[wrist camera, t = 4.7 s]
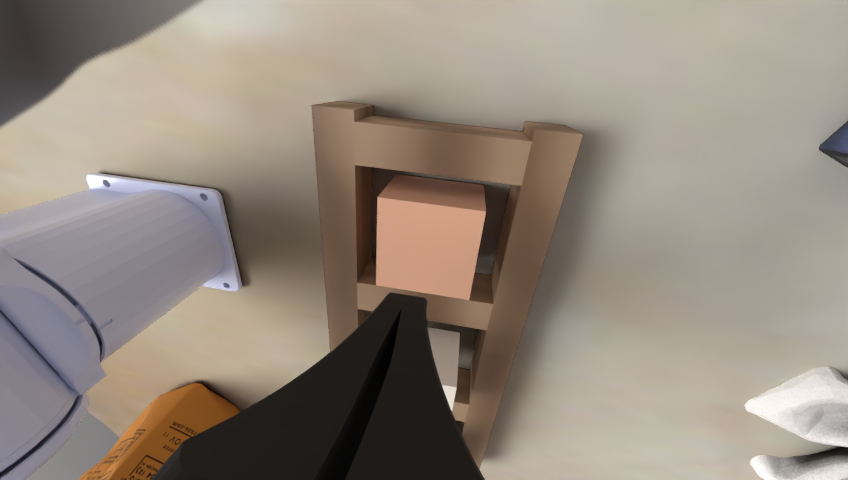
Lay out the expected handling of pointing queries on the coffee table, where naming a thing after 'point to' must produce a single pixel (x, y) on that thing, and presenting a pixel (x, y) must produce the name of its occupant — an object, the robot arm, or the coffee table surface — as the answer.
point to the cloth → (807, 425)
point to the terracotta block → (429, 235)
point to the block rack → (490, 294)
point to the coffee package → (161, 433)
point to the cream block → (446, 359)
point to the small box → (837, 145)
